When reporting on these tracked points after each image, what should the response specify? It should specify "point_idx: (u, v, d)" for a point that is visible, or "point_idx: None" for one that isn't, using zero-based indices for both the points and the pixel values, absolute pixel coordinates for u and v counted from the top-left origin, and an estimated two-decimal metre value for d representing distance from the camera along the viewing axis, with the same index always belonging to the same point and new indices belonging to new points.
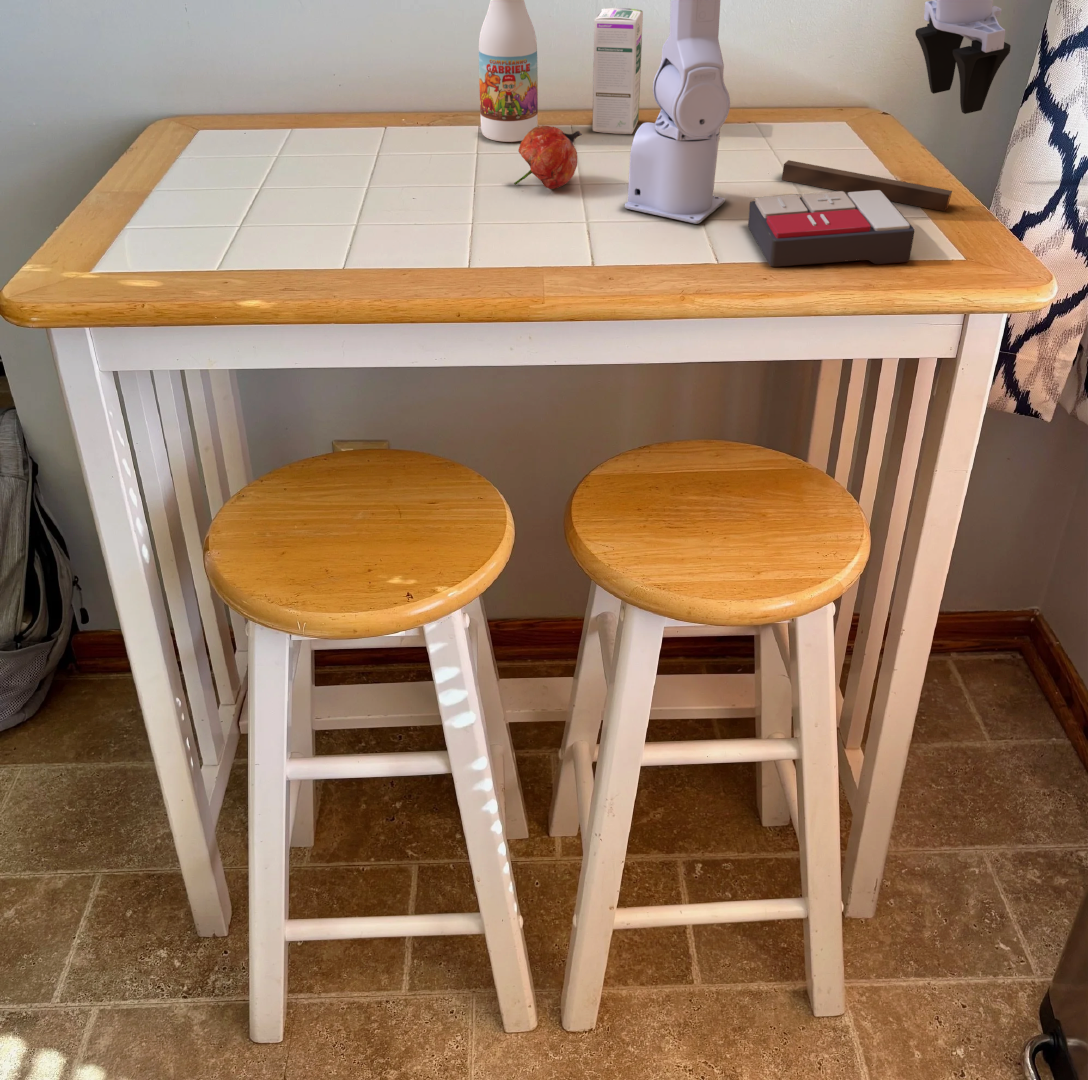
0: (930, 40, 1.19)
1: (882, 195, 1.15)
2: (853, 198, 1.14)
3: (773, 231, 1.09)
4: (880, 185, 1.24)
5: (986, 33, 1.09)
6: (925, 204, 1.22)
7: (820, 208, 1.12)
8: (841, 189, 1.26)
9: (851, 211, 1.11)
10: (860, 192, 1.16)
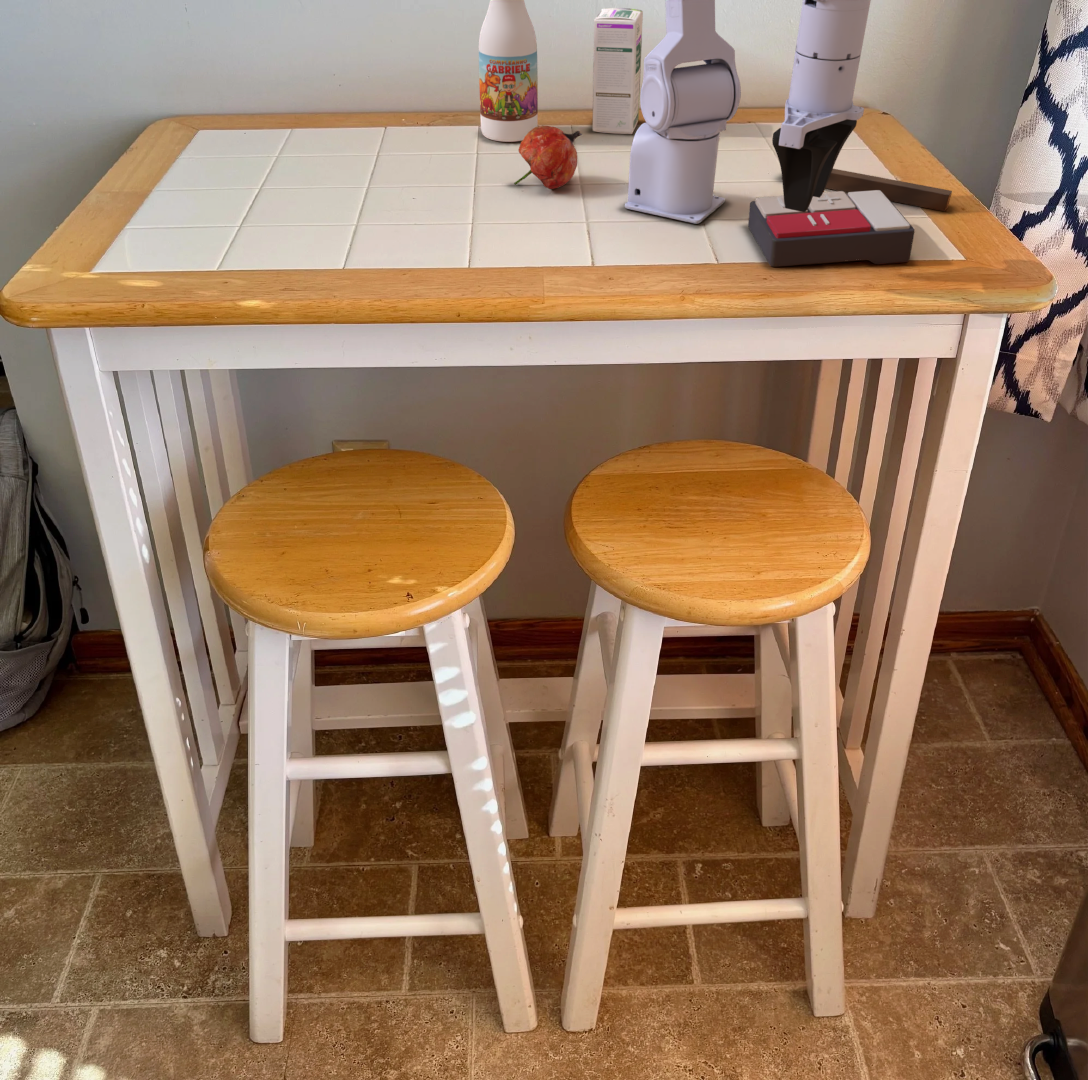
0: None
1: (882, 195, 1.15)
2: (853, 198, 1.14)
3: (773, 231, 1.09)
4: (880, 185, 1.24)
5: None
6: (925, 204, 1.22)
7: (820, 208, 1.12)
8: (841, 189, 1.26)
9: (851, 211, 1.11)
10: (860, 192, 1.16)
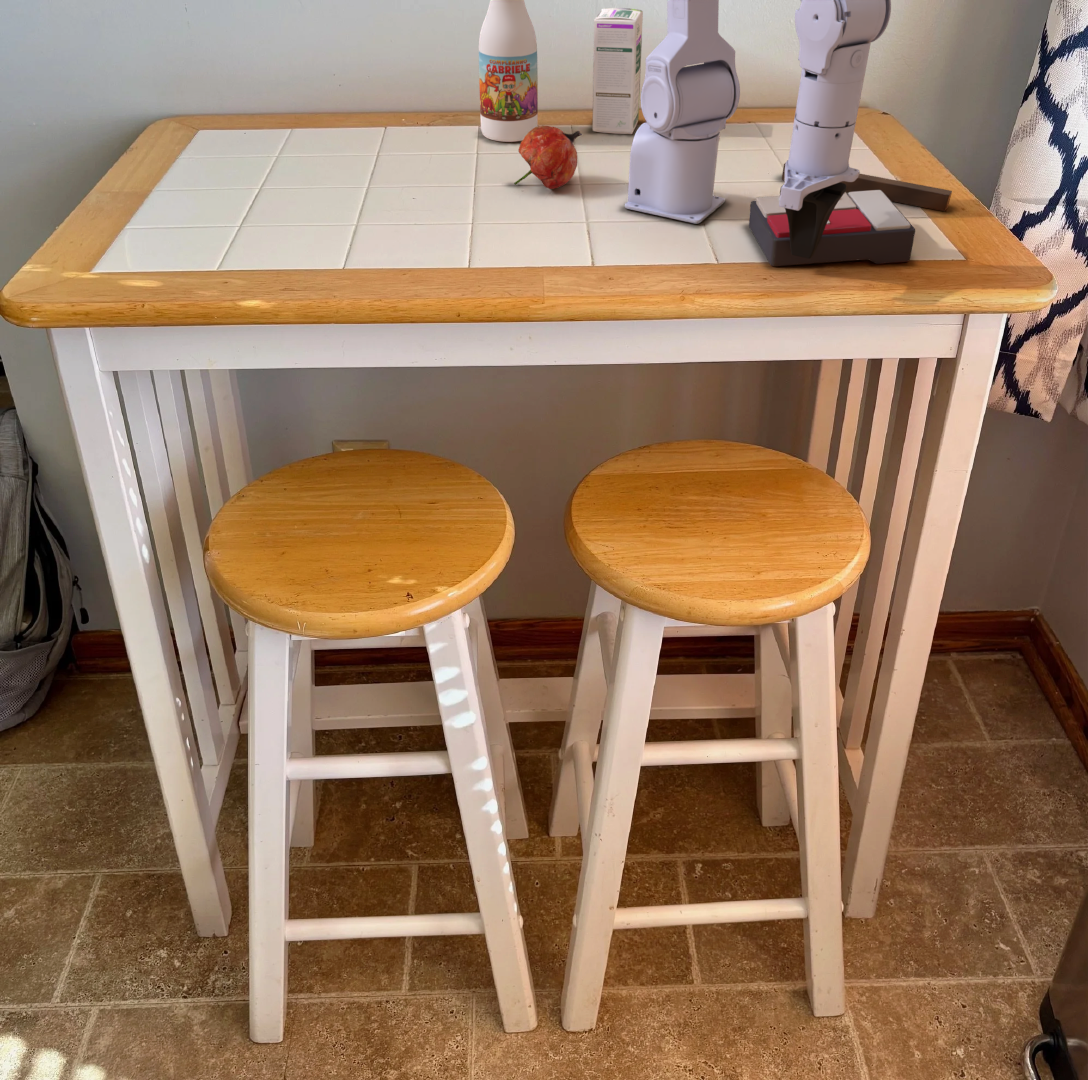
0: None
1: (883, 195, 1.15)
2: (854, 198, 1.14)
3: (774, 231, 1.09)
4: (880, 185, 1.24)
5: (782, 186, 0.97)
6: (925, 204, 1.22)
7: None
8: None
9: (852, 211, 1.11)
10: (861, 192, 1.16)
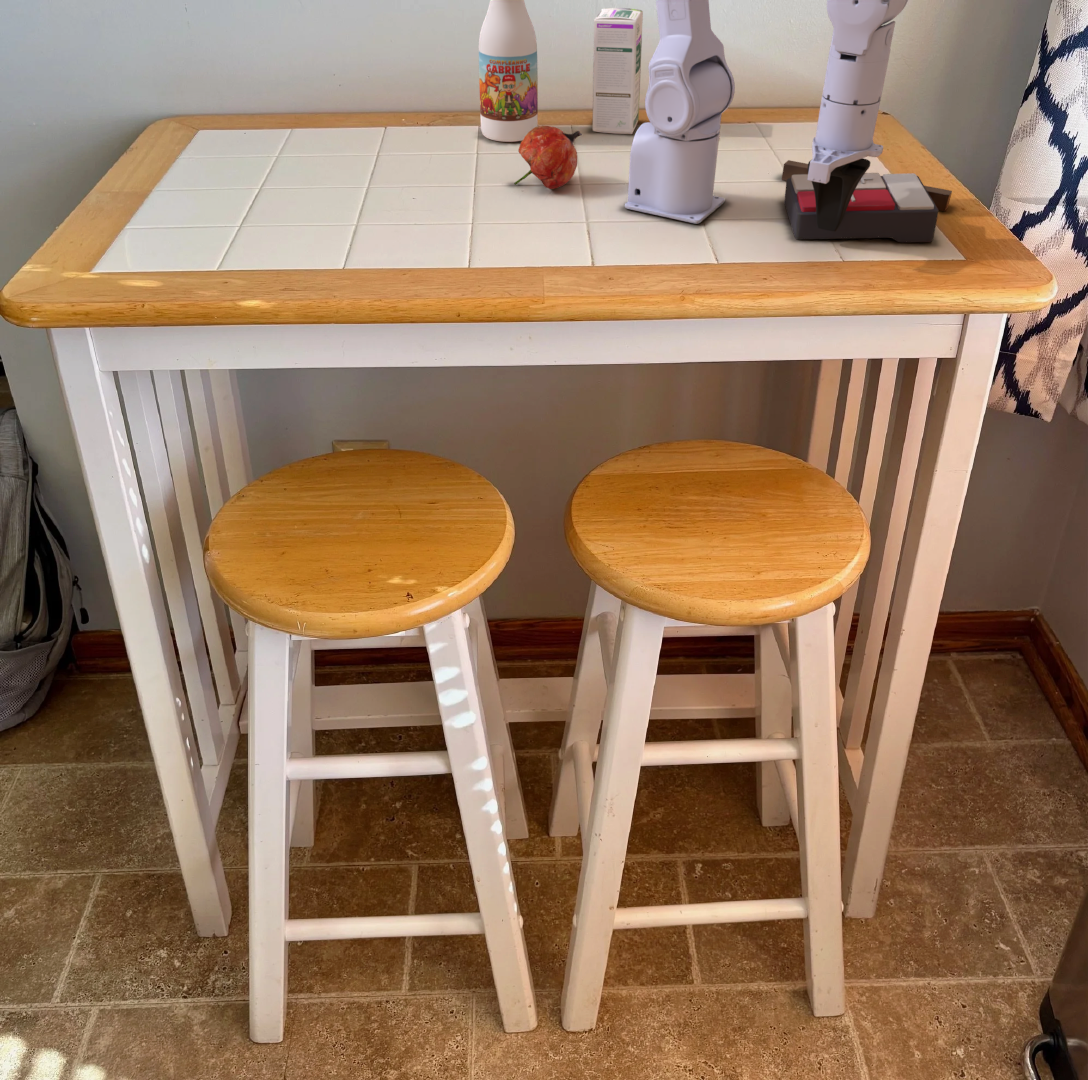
0: None
1: (915, 178, 1.19)
2: (886, 179, 1.19)
3: (800, 205, 1.14)
4: None
5: (811, 160, 1.03)
6: None
7: None
8: None
9: (880, 191, 1.16)
10: (895, 174, 1.20)
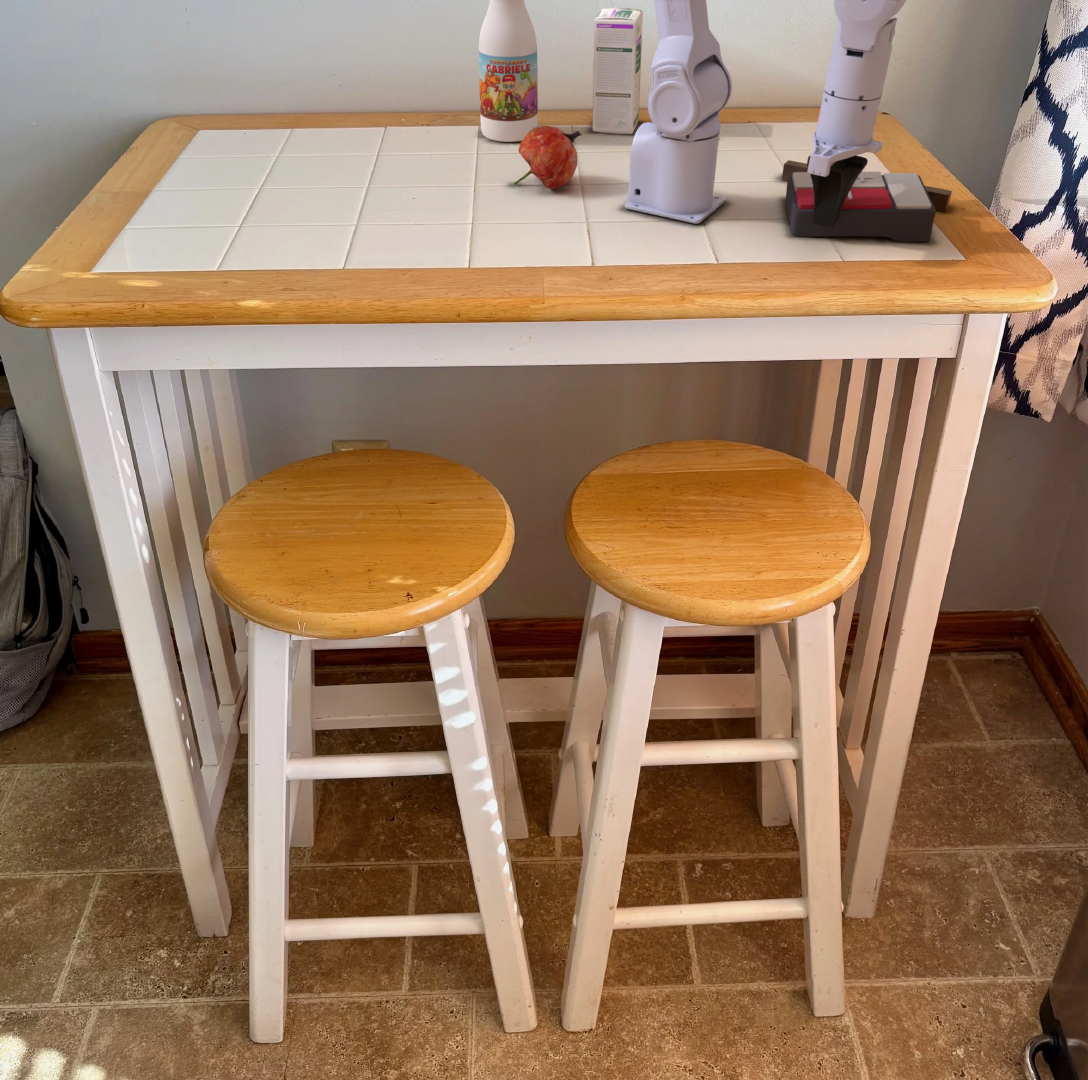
0: None
1: (916, 178, 1.19)
2: (887, 179, 1.19)
3: (797, 202, 1.15)
4: None
5: None
6: None
7: None
8: None
9: (879, 189, 1.16)
10: (896, 174, 1.20)
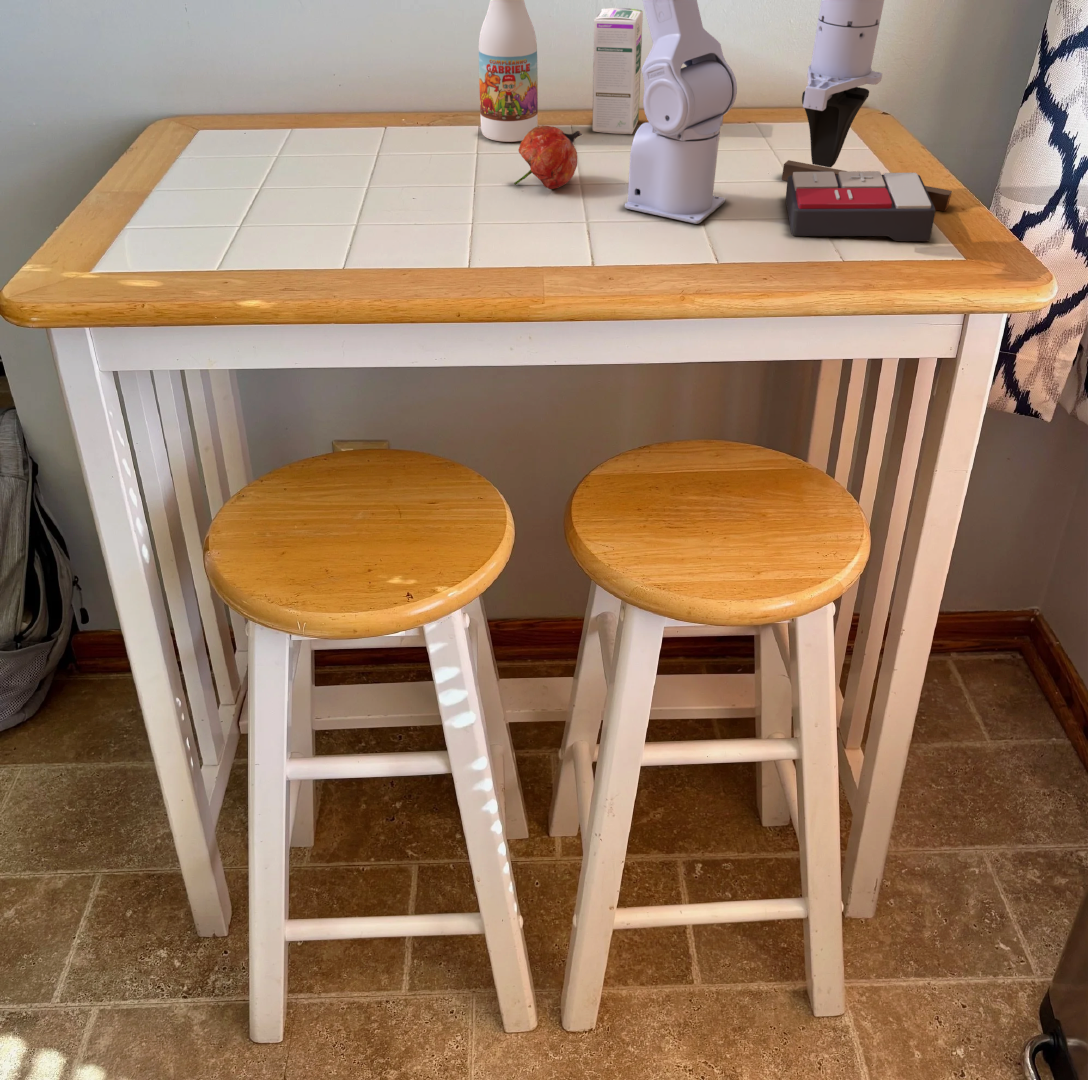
0: None
1: (916, 177, 1.19)
2: (887, 178, 1.19)
3: (797, 202, 1.15)
4: None
5: (807, 86, 0.97)
6: None
7: (850, 185, 1.18)
8: None
9: (879, 189, 1.16)
10: (896, 173, 1.20)
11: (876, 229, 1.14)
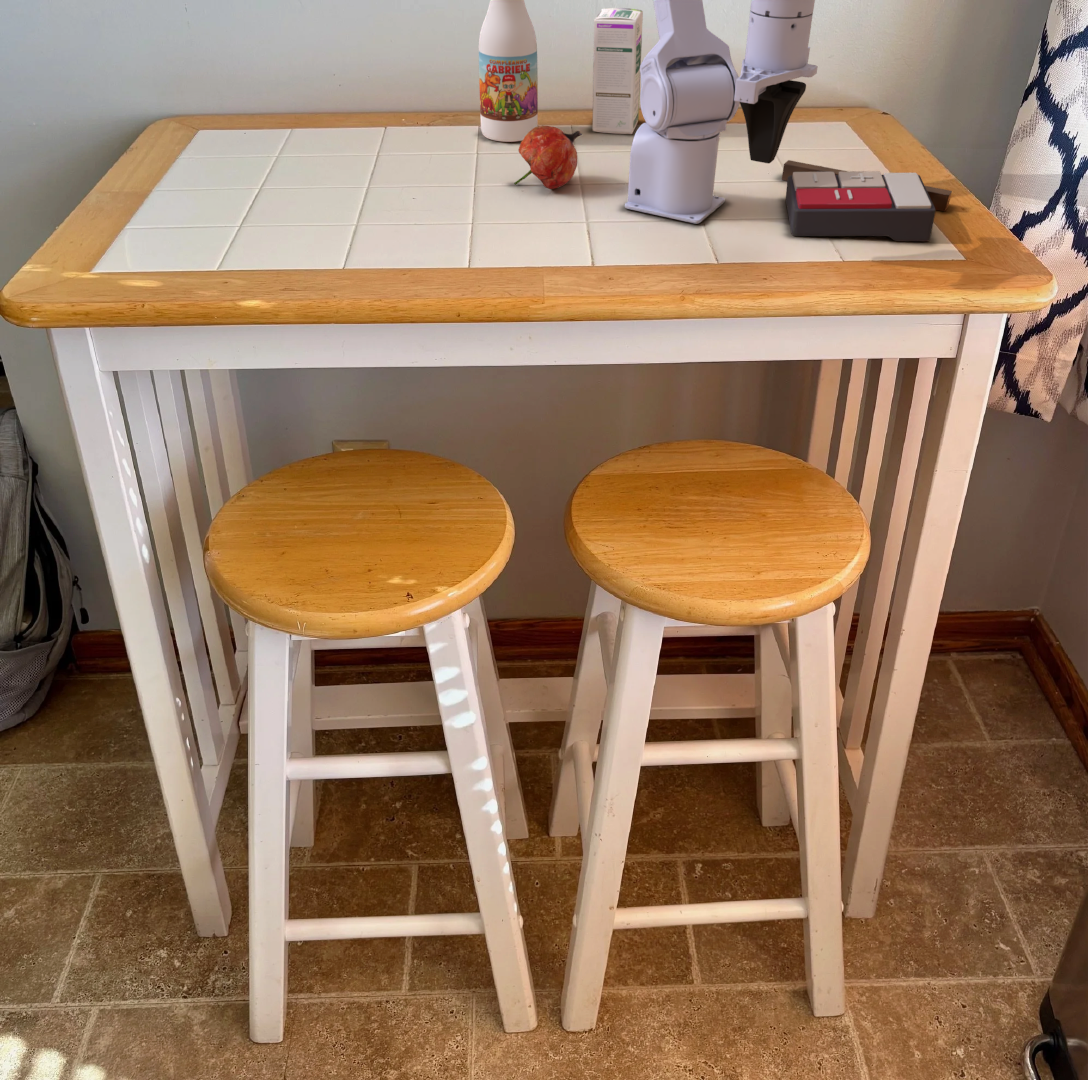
0: None
1: (916, 177, 1.19)
2: (887, 178, 1.19)
3: (797, 202, 1.15)
4: None
5: (737, 78, 0.95)
6: None
7: (850, 185, 1.18)
8: None
9: (879, 189, 1.16)
10: (896, 173, 1.20)
11: (876, 229, 1.14)
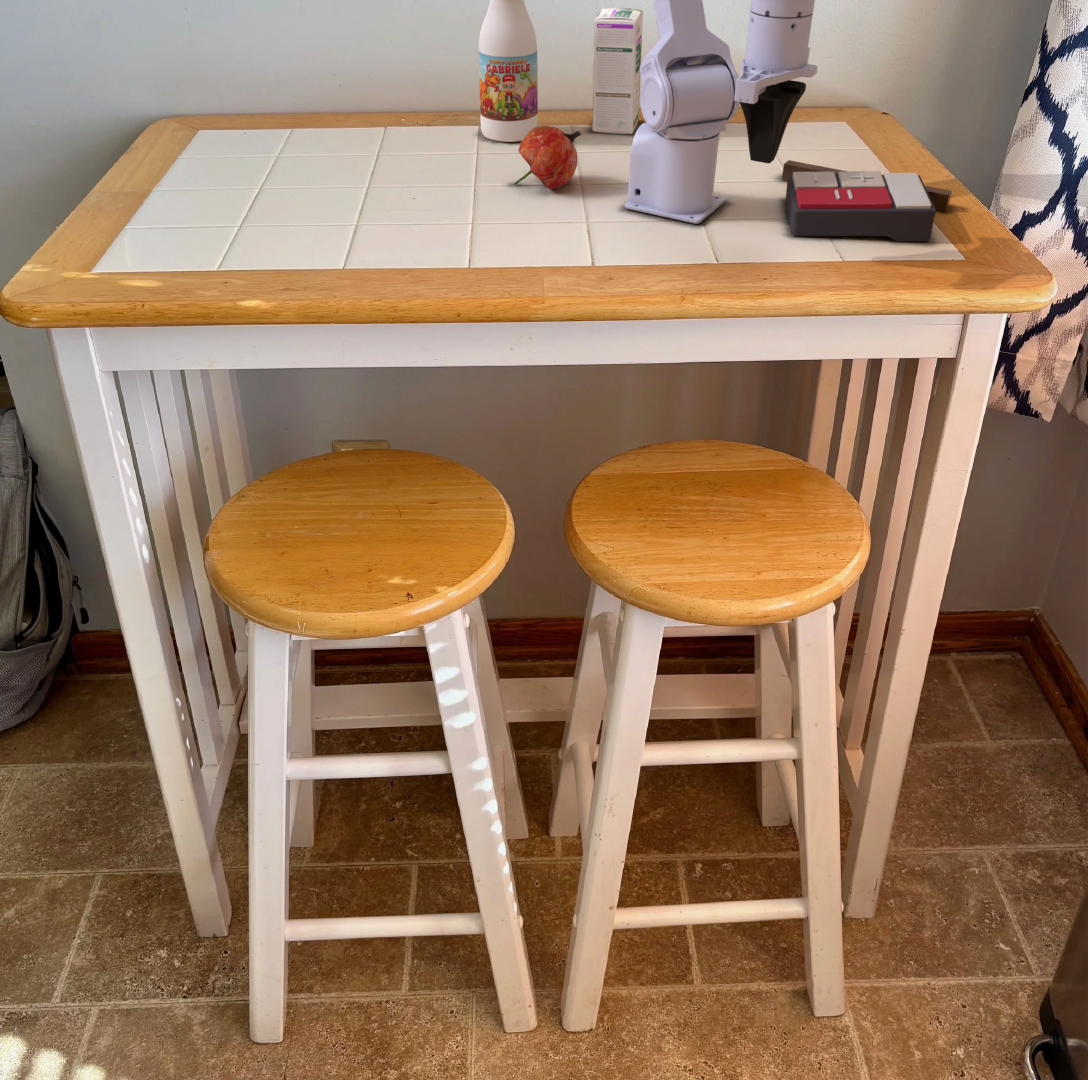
0: None
1: (916, 177, 1.19)
2: (887, 178, 1.19)
3: (797, 202, 1.15)
4: None
5: (737, 78, 0.95)
6: None
7: (850, 185, 1.18)
8: None
9: (879, 189, 1.16)
10: (896, 173, 1.20)
11: (876, 229, 1.14)
